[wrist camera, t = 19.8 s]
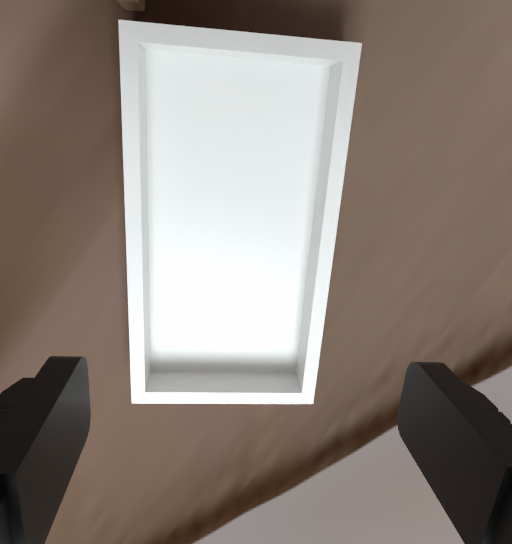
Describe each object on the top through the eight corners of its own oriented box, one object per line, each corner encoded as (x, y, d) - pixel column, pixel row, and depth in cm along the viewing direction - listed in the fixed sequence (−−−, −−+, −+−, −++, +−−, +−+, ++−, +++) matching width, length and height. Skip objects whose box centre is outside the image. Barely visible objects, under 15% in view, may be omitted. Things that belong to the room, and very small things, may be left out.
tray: (303, 376, 29) (313, 403, 26) (140, 374, 28) (131, 403, 25) (343, 52, 22) (362, 43, 20) (131, 33, 21) (118, 19, 18)
